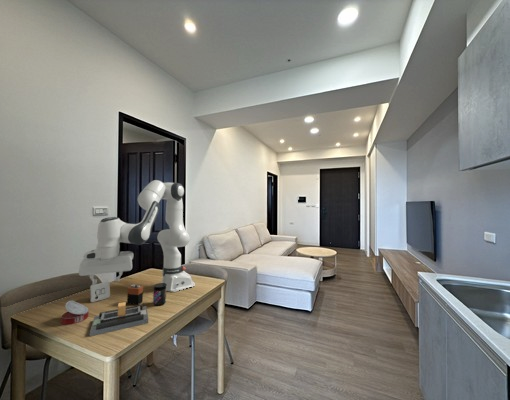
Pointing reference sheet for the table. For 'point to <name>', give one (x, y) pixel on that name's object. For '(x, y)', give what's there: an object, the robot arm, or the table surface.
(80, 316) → the canned food
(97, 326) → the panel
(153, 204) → the robot arm
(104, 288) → the electrical switch
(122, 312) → the toggle
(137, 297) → the battery
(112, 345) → the table surface
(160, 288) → the supplement container
